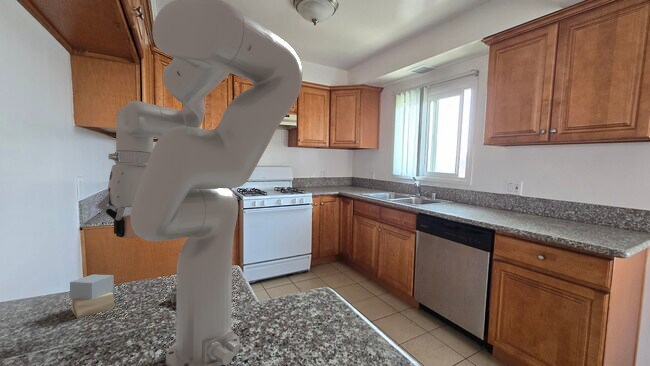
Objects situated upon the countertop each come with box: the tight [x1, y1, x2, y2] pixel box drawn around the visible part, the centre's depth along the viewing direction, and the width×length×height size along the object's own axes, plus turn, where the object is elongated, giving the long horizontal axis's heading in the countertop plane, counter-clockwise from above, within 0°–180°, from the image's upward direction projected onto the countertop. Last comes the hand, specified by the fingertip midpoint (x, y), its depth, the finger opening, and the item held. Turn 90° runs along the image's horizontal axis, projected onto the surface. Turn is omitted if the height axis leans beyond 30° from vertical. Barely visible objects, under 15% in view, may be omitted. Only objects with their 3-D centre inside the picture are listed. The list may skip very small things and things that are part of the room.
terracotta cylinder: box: [120, 214, 140, 239], centre depth 68 cm, size 5×5×5 cm
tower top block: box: [69, 273, 115, 300], centre depth 71 cm, size 6×6×4 cm
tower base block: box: [70, 291, 115, 319], centre depth 70 cm, size 7×7×4 cm
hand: (133, 234), depth 68 cm, fingers closed on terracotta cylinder, 4 cm apart
